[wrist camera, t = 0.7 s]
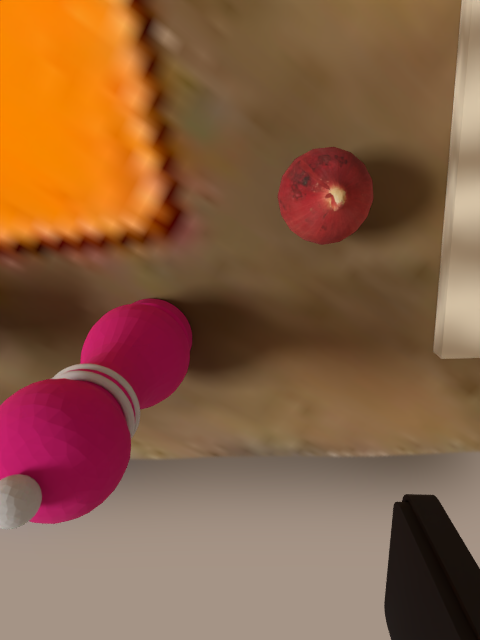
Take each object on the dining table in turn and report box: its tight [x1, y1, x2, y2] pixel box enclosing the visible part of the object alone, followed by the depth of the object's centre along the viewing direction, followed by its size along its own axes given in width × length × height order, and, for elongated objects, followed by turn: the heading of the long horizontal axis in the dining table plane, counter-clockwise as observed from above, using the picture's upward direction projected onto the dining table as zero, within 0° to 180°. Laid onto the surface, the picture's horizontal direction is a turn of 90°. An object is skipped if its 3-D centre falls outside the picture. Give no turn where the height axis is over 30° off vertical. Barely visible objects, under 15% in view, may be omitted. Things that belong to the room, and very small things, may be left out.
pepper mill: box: [0, 299, 192, 529], centre depth 23 cm, size 7×7×20 cm
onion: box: [278, 147, 373, 245], centre depth 25 cm, size 6×6×8 cm
